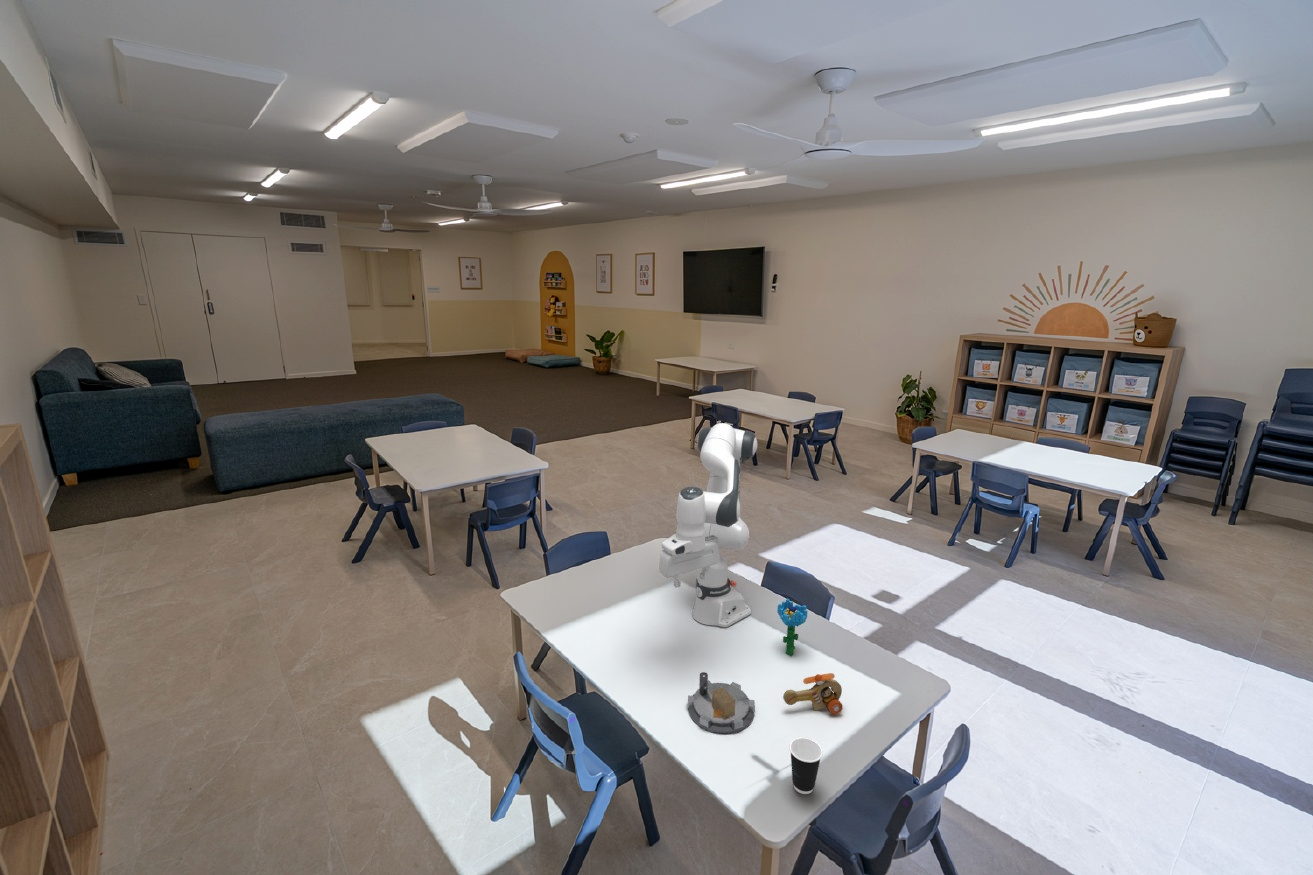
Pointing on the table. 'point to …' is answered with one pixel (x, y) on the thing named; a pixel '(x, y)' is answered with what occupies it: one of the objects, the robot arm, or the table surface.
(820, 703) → the toy helicopter
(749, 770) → the table surface
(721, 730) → the sprocket base
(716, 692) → the wooden block
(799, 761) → the dixie cup
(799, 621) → the toy flower
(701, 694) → the sprocket
